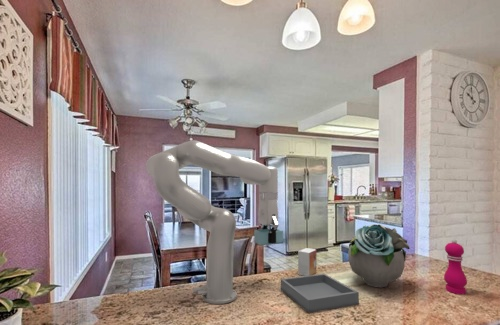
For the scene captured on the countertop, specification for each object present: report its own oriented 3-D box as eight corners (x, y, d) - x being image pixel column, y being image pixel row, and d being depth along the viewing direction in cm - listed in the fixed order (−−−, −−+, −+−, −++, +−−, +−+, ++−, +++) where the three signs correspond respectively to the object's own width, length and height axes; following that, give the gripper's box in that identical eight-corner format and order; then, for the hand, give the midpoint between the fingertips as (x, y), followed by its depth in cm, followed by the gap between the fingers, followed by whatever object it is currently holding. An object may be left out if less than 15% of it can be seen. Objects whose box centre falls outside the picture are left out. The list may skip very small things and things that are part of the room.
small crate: (260, 245, 109) (260, 232, 109) (254, 242, 115) (254, 229, 115) (282, 243, 113) (282, 230, 113) (276, 240, 118) (276, 228, 119)
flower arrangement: (425, 291, 108) (423, 227, 110) (376, 300, 99) (375, 231, 101) (375, 271, 131) (374, 218, 133) (331, 277, 122) (331, 221, 124)
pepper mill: (445, 292, 107) (444, 239, 108) (443, 286, 113) (441, 236, 115) (469, 296, 104) (467, 241, 105) (465, 289, 110) (463, 238, 111)
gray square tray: (308, 313, 89) (308, 300, 90) (280, 289, 108) (280, 279, 108) (358, 304, 96) (358, 292, 96) (324, 283, 115) (324, 273, 115)
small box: (309, 277, 122) (309, 252, 123) (297, 274, 126) (297, 250, 126) (316, 272, 129) (316, 249, 129) (305, 270, 132) (305, 247, 133)
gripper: (252, 195, 121) (252, 237, 120) (269, 198, 105) (269, 246, 104) (267, 195, 124) (267, 236, 123) (286, 197, 108) (287, 245, 107)
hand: (268, 240), depth 114 cm, fingers closed on small crate, 6 cm apart
